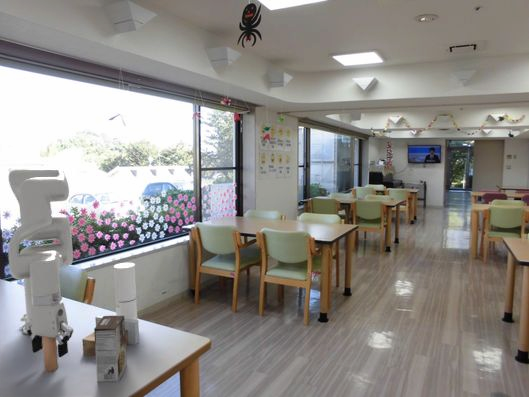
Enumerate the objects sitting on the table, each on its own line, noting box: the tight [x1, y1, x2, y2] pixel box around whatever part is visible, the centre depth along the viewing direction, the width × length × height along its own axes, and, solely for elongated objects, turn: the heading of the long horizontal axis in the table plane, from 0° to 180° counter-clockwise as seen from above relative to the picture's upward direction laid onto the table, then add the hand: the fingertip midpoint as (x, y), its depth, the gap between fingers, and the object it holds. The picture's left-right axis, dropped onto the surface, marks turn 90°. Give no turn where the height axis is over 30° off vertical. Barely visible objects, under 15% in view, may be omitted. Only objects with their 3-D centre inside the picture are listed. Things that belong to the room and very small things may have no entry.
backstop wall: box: [94, 314, 140, 346], centre depth 138 cm, size 16×2×8 cm, turn 73°
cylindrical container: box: [113, 262, 138, 320], centre depth 144 cm, size 7×7×25 cm
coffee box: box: [93, 315, 128, 383], centre depth 117 cm, size 9×6×16 cm
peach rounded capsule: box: [42, 336, 59, 372], centre depth 120 cm, size 4×4×12 cm
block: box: [81, 330, 129, 357], centre depth 133 cm, size 10×10×5 cm
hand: (50, 352), depth 120 cm, fingers open, 9 cm apart
